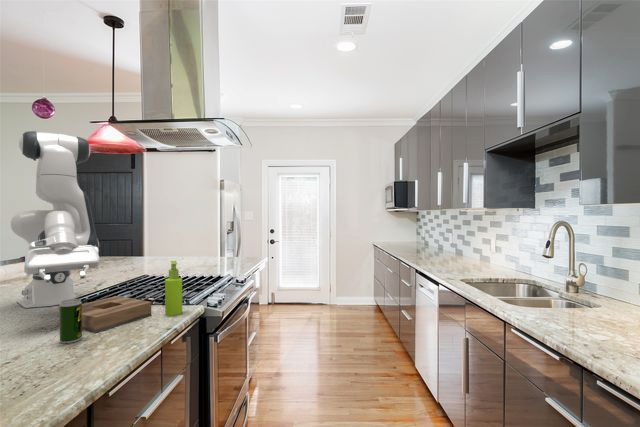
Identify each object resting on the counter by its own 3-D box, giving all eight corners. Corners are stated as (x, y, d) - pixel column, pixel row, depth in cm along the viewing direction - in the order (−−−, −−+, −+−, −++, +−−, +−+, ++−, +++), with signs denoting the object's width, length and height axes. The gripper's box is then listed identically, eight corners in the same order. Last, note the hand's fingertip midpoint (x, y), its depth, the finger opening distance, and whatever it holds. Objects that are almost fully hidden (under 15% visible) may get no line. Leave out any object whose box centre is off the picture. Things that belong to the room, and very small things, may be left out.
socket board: (60, 323, 117) (60, 309, 116) (117, 308, 134) (117, 295, 134) (95, 333, 108) (95, 317, 108) (151, 315, 125) (151, 302, 125)
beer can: (58, 345, 98) (58, 304, 97) (60, 339, 102) (60, 300, 102) (81, 341, 101) (81, 301, 100) (82, 336, 105) (82, 297, 105)
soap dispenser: (165, 317, 123) (165, 262, 123) (164, 312, 129) (164, 260, 129) (183, 315, 126) (183, 261, 125) (181, 310, 132) (181, 259, 131)
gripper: (96, 250, 126) (101, 280, 119) (23, 255, 112) (24, 290, 105) (98, 239, 123) (104, 269, 115) (23, 243, 109) (24, 277, 102)
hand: (65, 279), depth 110 cm, fingers open, 8 cm apart
